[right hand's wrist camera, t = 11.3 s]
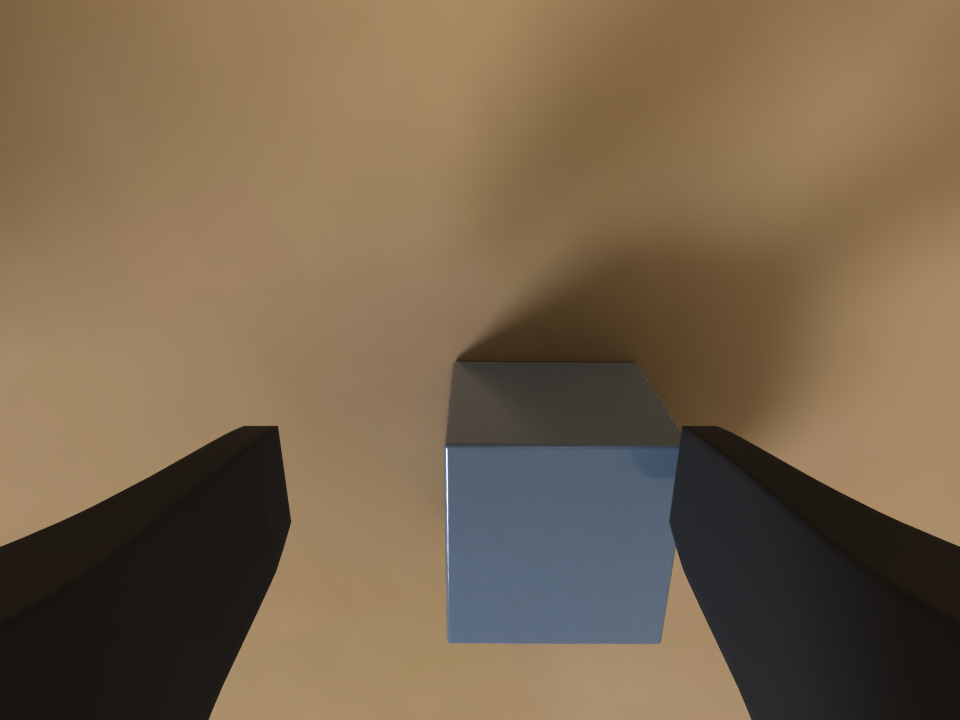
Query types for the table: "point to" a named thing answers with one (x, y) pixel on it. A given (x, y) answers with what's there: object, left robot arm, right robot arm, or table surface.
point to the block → (557, 504)
